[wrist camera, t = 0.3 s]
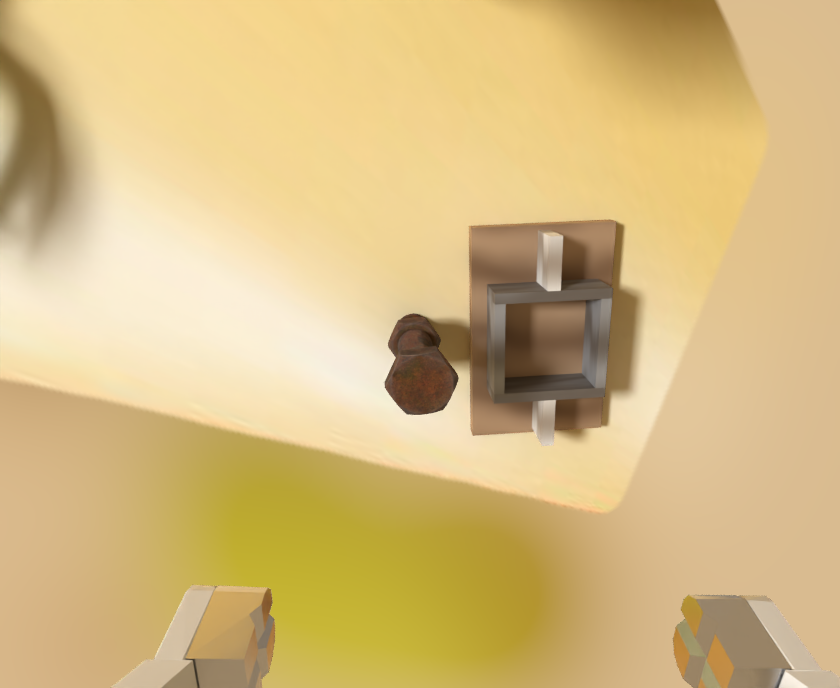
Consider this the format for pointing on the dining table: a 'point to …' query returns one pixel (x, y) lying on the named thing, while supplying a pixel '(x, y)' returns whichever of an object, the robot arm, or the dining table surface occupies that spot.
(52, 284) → the dining table surface
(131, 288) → the dining table surface
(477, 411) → the square frame on board
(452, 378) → the bolt
